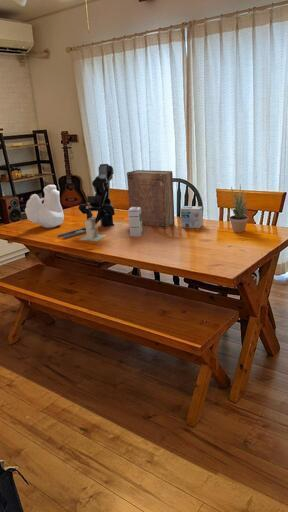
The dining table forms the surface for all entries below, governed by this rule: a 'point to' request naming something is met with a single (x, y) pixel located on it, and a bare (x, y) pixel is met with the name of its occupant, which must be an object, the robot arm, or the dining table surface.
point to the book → (152, 196)
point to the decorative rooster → (45, 208)
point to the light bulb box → (191, 216)
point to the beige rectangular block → (91, 228)
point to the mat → (93, 238)
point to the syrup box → (135, 221)
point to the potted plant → (239, 213)
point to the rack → (72, 233)
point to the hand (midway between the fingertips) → (91, 223)
